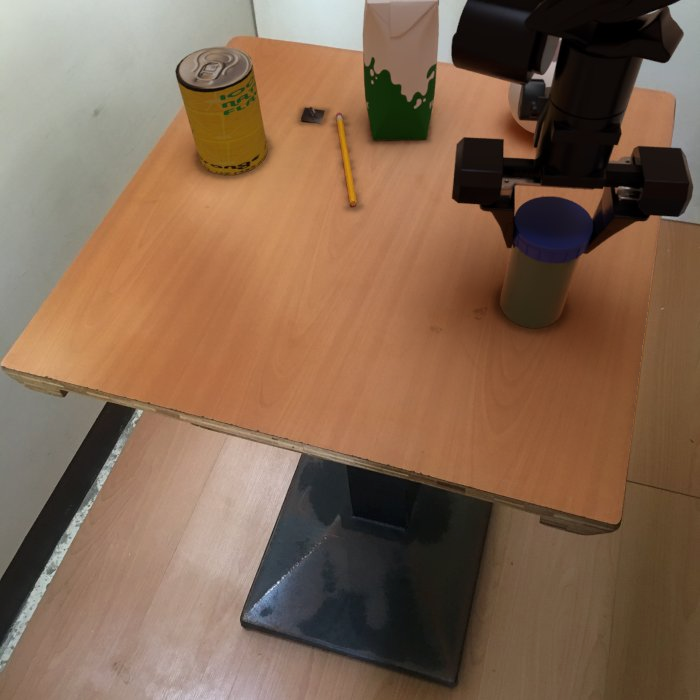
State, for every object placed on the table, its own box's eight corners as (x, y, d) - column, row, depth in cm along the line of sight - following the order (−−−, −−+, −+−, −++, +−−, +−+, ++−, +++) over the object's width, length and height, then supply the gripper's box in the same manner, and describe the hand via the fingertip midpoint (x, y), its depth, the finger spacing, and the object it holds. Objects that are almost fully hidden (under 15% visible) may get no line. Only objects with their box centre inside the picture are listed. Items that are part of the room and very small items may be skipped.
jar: (561, 284, 69) (586, 205, 60) (563, 331, 65) (591, 254, 56) (500, 279, 69) (516, 200, 61) (499, 325, 66) (516, 248, 57)
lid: (586, 212, 61) (591, 198, 60) (591, 267, 57) (597, 252, 55) (511, 207, 62) (514, 193, 60) (510, 261, 58) (513, 246, 56)
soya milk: (434, 144, 84) (445, -18, 68) (364, 145, 84) (359, -15, 68) (431, 105, 89) (441, -54, 73) (366, 106, 90) (361, -51, 73)
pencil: (342, 116, 88) (341, 112, 87) (356, 205, 77) (356, 200, 77) (336, 117, 88) (335, 112, 87) (350, 206, 77) (350, 201, 77)
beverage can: (274, 133, 87) (260, 47, 77) (258, 177, 81) (241, 90, 72) (210, 130, 88) (188, 45, 78) (191, 172, 83) (165, 87, 73)
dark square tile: (324, 110, 89) (325, 103, 88) (320, 123, 88) (320, 115, 87) (304, 107, 90) (304, 99, 89) (300, 120, 88) (299, 112, 87)
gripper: (702, 44, 51) (640, 197, 64) (466, 37, 54) (451, 185, 66) (729, 128, 45) (654, 279, 58) (460, 115, 47) (445, 264, 60)
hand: (546, 247), depth 60 cm, fingers closed on lid, 6 cm apart
